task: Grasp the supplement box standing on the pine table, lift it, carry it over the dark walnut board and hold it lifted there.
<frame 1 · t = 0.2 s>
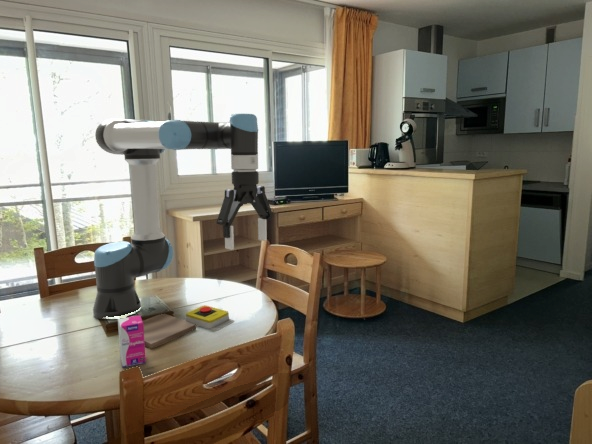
hand: (246, 244, 124), 28 cm above the table, tool pointing down, fingers open, 13 cm apart
walnut board: (157, 331, 131), on the table
emergency button: (208, 322, 140), on the table
supplement box: (133, 361, 114), on the table
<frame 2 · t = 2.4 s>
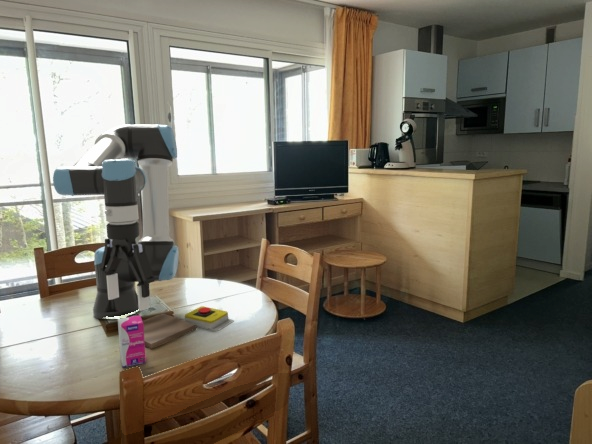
hand: (128, 303, 111), 16 cm above the table, tool pointing down, fingers open, 13 cm apart
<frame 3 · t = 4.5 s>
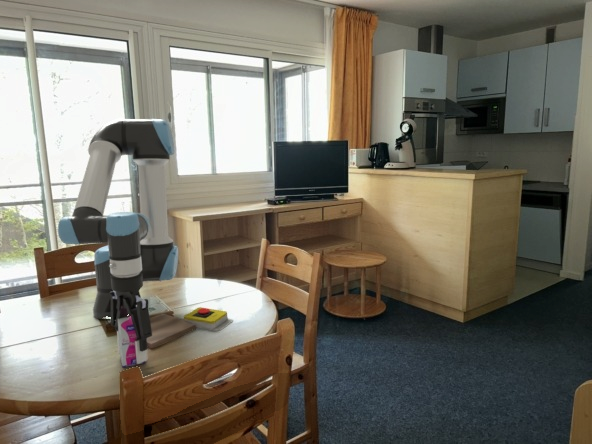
hand: (132, 356, 113), 1 cm above the table, tool pointing down, fingers closed on supplement box, 7 cm apart
supplement box: (133, 361, 114), on the table, touching gripper
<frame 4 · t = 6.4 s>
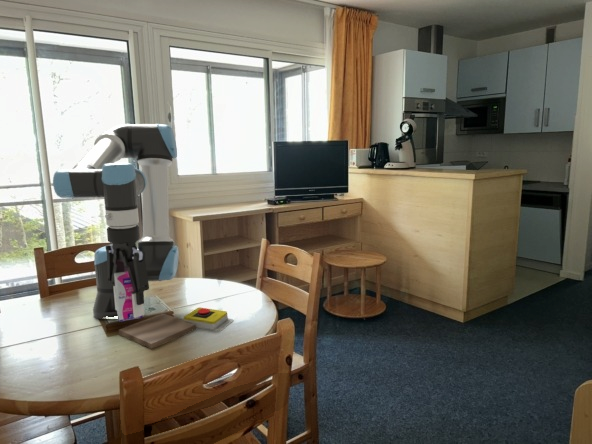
hand: (129, 311, 112), 14 cm above the table, tool pointing down, fingers closed on supplement box, 7 cm apart
supplement box: (130, 317, 112), point 12 cm above the table, touching gripper
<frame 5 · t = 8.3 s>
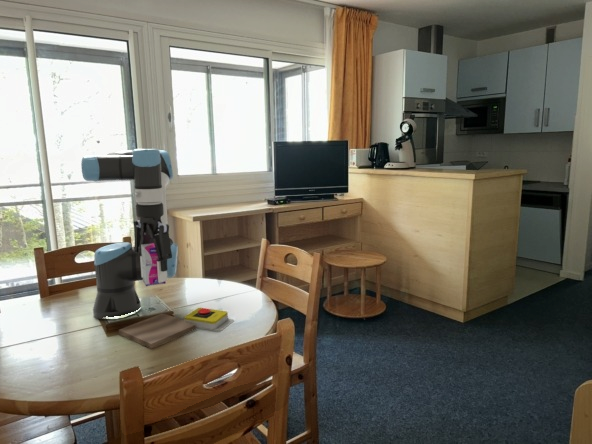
hand: (154, 278, 128), 17 cm above the table, tool pointing down, fingers closed on supplement box, 7 cm apart
supplement box: (154, 283, 129), point 16 cm above the table, touching gripper
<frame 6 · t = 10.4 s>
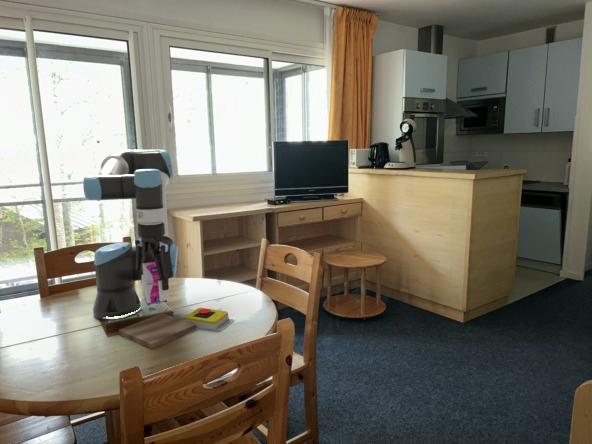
hand: (155, 297, 130), 11 cm above the table, tool pointing down, fingers closed on supplement box, 7 cm apart
supplement box: (155, 301, 130), point 10 cm above the table, touching gripper
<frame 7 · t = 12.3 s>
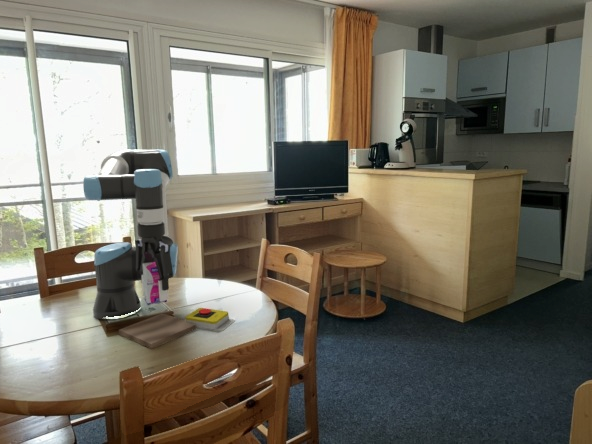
hand: (155, 297, 130), 11 cm above the table, tool pointing down, fingers closed on supplement box, 7 cm apart
supplement box: (155, 301, 130), point 10 cm above the table, touching gripper
at the end: the gripper is holding supplement box; supplement box point 9.7 cm above the table; supplement box 0.1 cm from the walnut board (horizontally) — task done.
